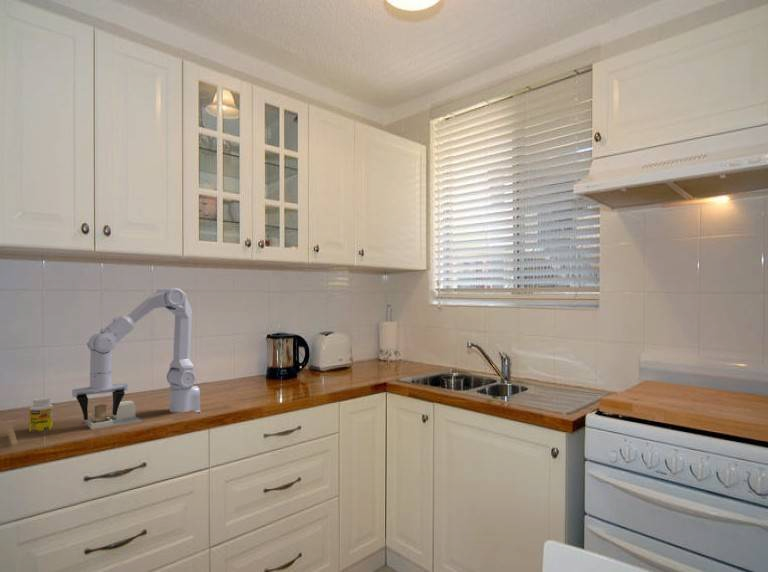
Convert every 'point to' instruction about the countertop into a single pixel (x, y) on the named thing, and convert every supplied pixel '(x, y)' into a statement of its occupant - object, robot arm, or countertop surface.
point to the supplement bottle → (40, 415)
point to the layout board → (110, 422)
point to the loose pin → (100, 413)
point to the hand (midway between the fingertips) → (100, 416)
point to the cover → (125, 410)
